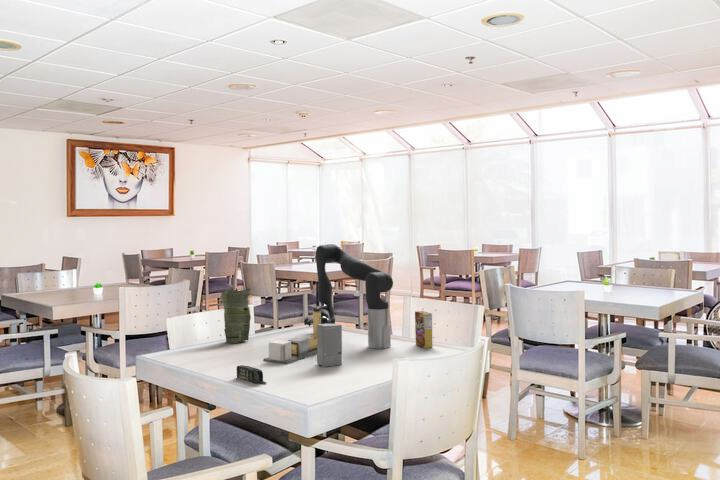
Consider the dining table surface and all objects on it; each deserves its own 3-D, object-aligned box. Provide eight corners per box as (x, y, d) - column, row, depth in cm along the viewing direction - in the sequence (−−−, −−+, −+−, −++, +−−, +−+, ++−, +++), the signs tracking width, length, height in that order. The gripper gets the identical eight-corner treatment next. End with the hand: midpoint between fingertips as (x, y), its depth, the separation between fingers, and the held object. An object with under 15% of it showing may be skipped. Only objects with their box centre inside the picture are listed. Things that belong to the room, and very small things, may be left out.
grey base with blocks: (310, 346, 271) (309, 331, 271) (332, 348, 265) (332, 334, 265) (263, 360, 243) (263, 344, 243) (287, 364, 237) (287, 347, 237)
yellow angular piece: (315, 345, 268) (315, 306, 268) (323, 346, 266) (322, 307, 266) (288, 353, 251) (288, 312, 250) (296, 354, 249) (295, 313, 248)
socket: (277, 356, 247) (277, 339, 247) (291, 358, 243) (291, 341, 243) (269, 359, 242) (268, 342, 242) (282, 361, 239) (282, 344, 239)
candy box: (414, 344, 272) (414, 311, 272) (423, 343, 274) (422, 310, 273) (424, 348, 264) (424, 313, 264) (432, 347, 266) (432, 313, 265)
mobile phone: (234, 365, 216) (260, 371, 206) (241, 363, 218) (267, 369, 208) (235, 379, 216) (261, 385, 206) (242, 377, 218) (268, 383, 208)
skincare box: (323, 367, 231) (322, 326, 230) (316, 363, 237) (315, 323, 237) (343, 365, 235) (342, 324, 234) (335, 361, 241) (335, 321, 241)
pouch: (219, 342, 281) (218, 289, 280) (234, 338, 292) (233, 286, 291) (239, 344, 276) (239, 290, 276) (254, 339, 287) (253, 287, 287)
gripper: (306, 310, 291) (303, 315, 275) (336, 310, 291) (334, 315, 274) (306, 326, 291) (303, 332, 275) (336, 325, 291) (334, 331, 275)
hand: (318, 323), depth 275 cm, fingers open, 8 cm apart
